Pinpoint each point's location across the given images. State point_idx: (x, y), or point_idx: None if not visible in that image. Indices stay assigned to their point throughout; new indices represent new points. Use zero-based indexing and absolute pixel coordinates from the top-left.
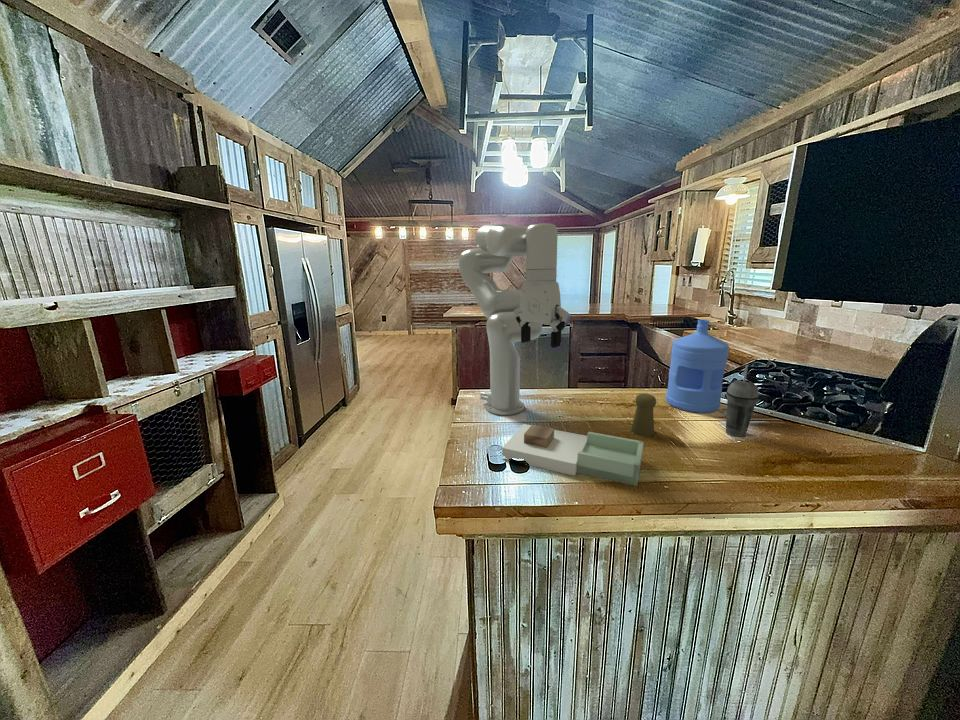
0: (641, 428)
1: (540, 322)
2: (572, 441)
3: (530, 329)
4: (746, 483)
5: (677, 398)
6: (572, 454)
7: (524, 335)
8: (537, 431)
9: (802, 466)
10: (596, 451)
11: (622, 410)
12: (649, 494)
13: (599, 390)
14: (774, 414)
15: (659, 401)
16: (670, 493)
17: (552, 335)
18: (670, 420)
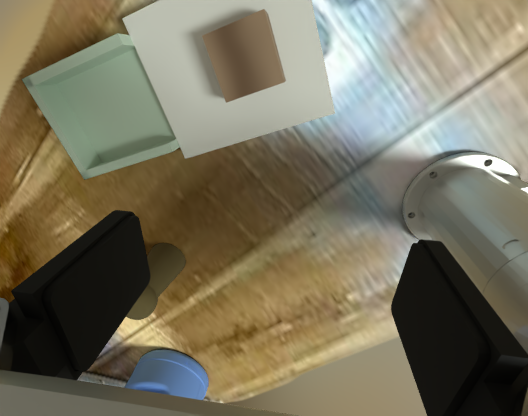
0: (155, 252)
1: (26, 387)
2: (192, 112)
3: (422, 399)
4: (2, 195)
5: (173, 367)
6: (154, 55)
7: (432, 292)
8: (246, 54)
9: (5, 272)
10: (148, 120)
11: (235, 312)
12: (34, 69)
13: (312, 366)
14: (96, 379)
15: (212, 364)
16: (23, 97)
17: (49, 265)
18: (163, 313)
